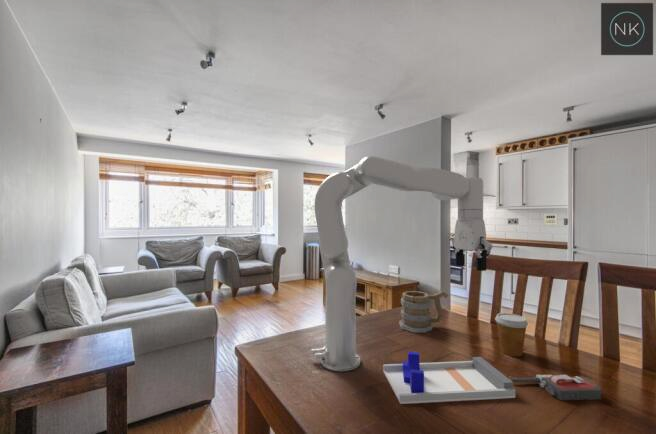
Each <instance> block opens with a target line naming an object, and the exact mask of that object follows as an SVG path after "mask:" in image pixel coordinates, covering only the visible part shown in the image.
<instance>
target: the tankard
mask: <svg viewBox="0 0 656 434" xmlns="http://www.w3.org/2000/svg"><path fill="white" fill-rule="evenodd" d="M448 296H449V294H448V293H446V292H444V291H439V292H437V293H434V294H428V293H427V292H422V291H418V290H408V291H407V290H406V291H405V292H402V296H401V298H400V304H401V305H402V308H401V309H400V316H401V317H402V318H401V320H399V321H398V325H399V326H400V328H401V329H402V330H403V329H404V331H406V330H407V332H410V333H415V334H416V333H420V334H423V333H424V334H427V333H429V332H431V331H432V330H433V327H434V326H433V324H435V323H440V322H441V321H442V319H443V317H444V316H443V315H444V313H443V312H444V311H443V308H442V305H441V299H440V298H442V297H443V298H446V299H448ZM430 300H433V302H434V303H433V304H434V306H435V308H436V316H435V317H434V316H433V317H432V313H431V312H430V308H432V301H430ZM432 323H433V324H432ZM428 331H429V332H428ZM426 332H427V333H426Z"/></svg>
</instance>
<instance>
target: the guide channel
mask: <svg viewBox="0 0 656 434" xmlns="http://www.w3.org/2000/svg"><path fill="white" fill-rule="evenodd" d="M419 365H420V370H423V372H424V393H411V388H410V383H405V382H404V378H403V363H388V364H386V363H385V364H383V365H382V367H383V368H382V370H383V374H384V376H385V377H386V379H387V381H388V383H389V385H390V387H391V389H392V391H393V392H394V395H395V397H396V399H397V400H398V402H399V404H400V405H405V404H407V405H408V404H422V403H423V404H427V403H444V402H463V401H480V400H499V399H500V400H501V399H516V389H515V388H514V383H513V382H512V381H511V378H509V377H507V376H506V375H504V374H503V373H502V372H501V371H499V370H498V369H497V368H495V367H494V366H493V365H492V364H490V363H489V362H488V361H487V360H485V359H484V358H482V357H481V356H473V357H472V360H463V361H462V360H461V361H459V360H458V361H439V362H438V361H437V362H435V361H434V362H419Z"/></svg>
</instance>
